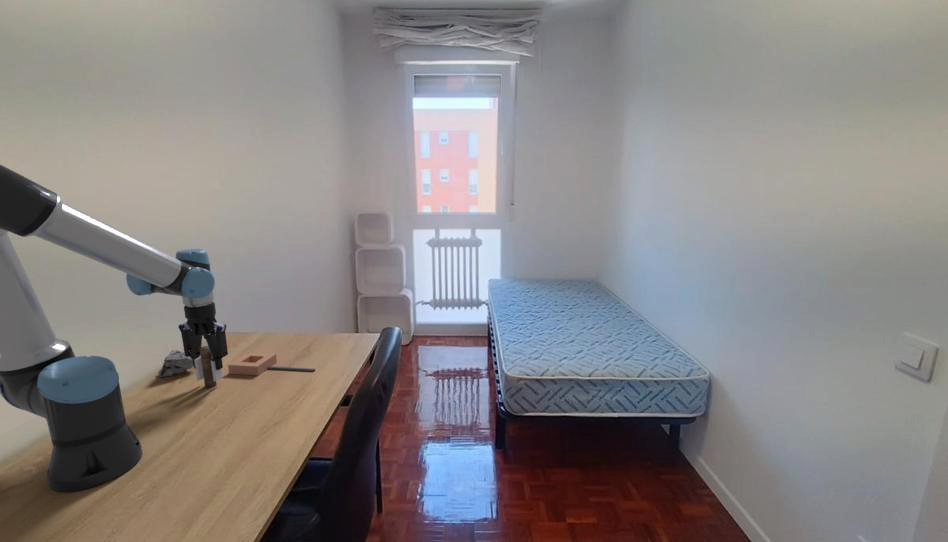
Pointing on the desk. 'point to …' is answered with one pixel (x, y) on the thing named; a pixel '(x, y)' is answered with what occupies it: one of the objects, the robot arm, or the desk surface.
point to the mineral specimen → (175, 364)
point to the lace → (290, 368)
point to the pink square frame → (252, 363)
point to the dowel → (207, 367)
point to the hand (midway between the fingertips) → (209, 378)
